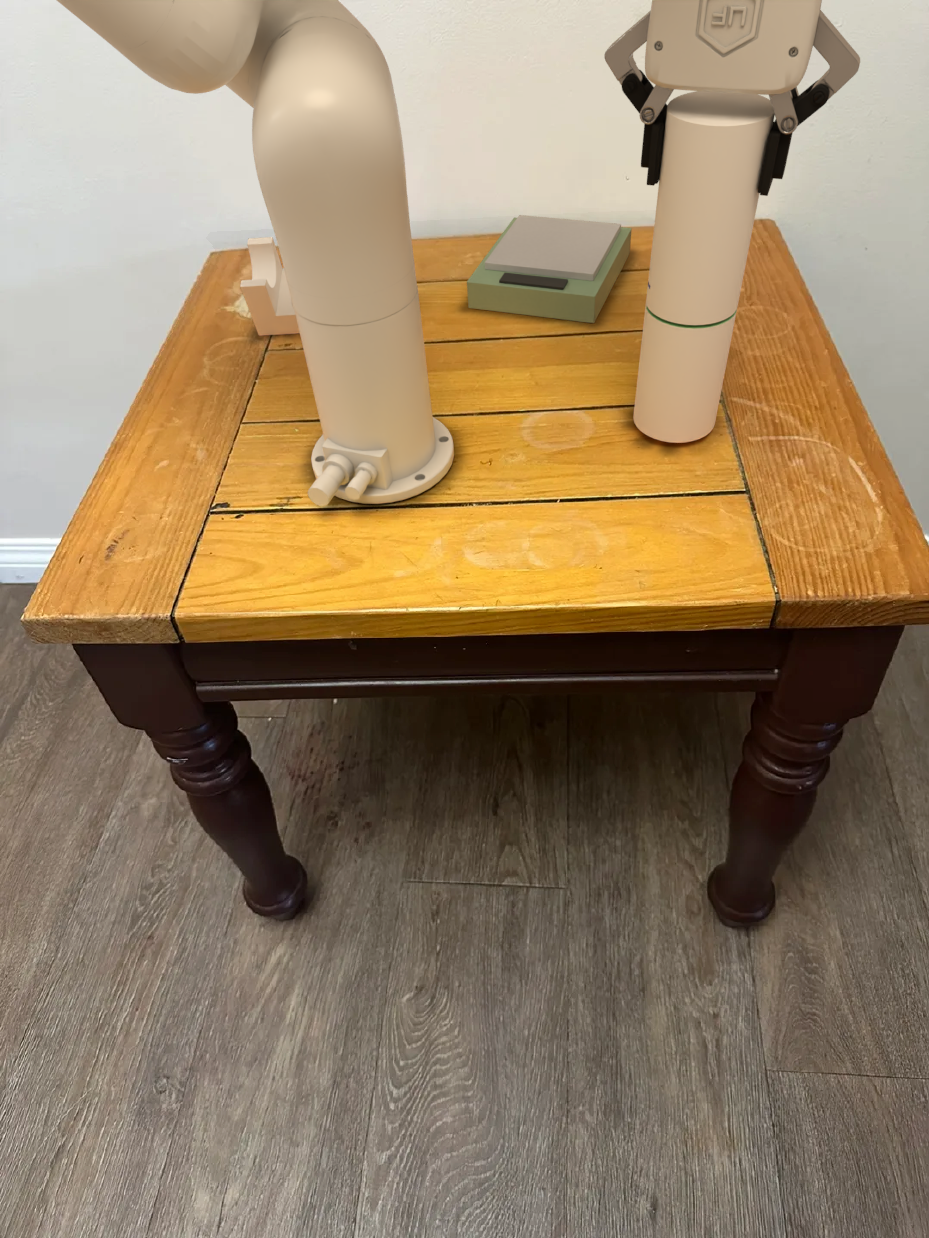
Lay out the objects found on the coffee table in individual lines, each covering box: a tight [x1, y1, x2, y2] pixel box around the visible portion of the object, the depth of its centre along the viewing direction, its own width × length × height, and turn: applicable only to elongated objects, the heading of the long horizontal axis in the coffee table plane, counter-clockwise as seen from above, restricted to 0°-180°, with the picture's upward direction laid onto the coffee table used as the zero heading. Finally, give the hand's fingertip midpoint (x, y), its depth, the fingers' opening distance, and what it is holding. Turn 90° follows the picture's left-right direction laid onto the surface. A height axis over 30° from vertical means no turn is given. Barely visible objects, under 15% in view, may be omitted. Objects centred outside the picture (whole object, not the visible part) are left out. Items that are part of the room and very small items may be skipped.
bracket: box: [239, 236, 300, 336], centre depth 92 cm, size 13×7×8 cm, turn 89°
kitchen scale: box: [466, 214, 633, 324], centre depth 95 cm, size 16×14×4 cm
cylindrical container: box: [632, 91, 775, 444], centre depth 68 cm, size 7×7×25 cm
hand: (709, 181), depth 62 cm, fingers closed on cylindrical container, 7 cm apart
